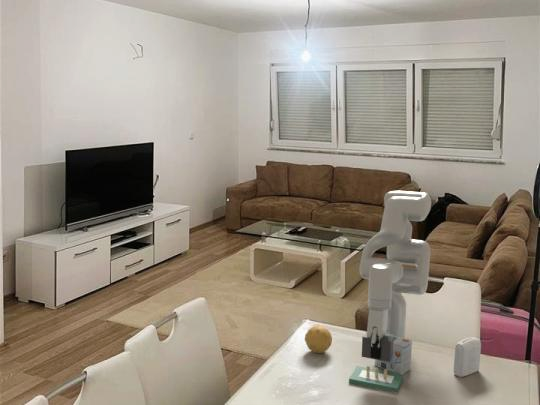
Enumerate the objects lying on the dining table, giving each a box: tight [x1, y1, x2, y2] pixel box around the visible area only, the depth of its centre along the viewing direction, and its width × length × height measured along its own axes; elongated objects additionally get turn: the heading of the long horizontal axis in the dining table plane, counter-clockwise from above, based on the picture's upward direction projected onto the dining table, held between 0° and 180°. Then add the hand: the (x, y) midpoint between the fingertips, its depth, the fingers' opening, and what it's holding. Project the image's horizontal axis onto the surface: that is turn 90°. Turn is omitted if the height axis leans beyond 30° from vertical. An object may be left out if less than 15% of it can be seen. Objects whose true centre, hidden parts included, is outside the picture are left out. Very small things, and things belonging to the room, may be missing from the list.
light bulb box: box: [374, 333, 413, 375], centre depth 199 cm, size 11×7×11 cm, turn 47°
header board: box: [348, 365, 404, 394], centre depth 190 cm, size 10×16×5 cm, turn 66°
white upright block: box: [453, 336, 482, 378], centre depth 195 cm, size 10×4×12 cm, turn 123°
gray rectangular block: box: [361, 332, 394, 362], centre depth 187 cm, size 4×9×7 cm, turn 66°
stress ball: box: [304, 325, 333, 354], centre depth 211 cm, size 10×10×10 cm
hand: (377, 354), depth 188 cm, fingers closed on gray rectangular block, 4 cm apart
